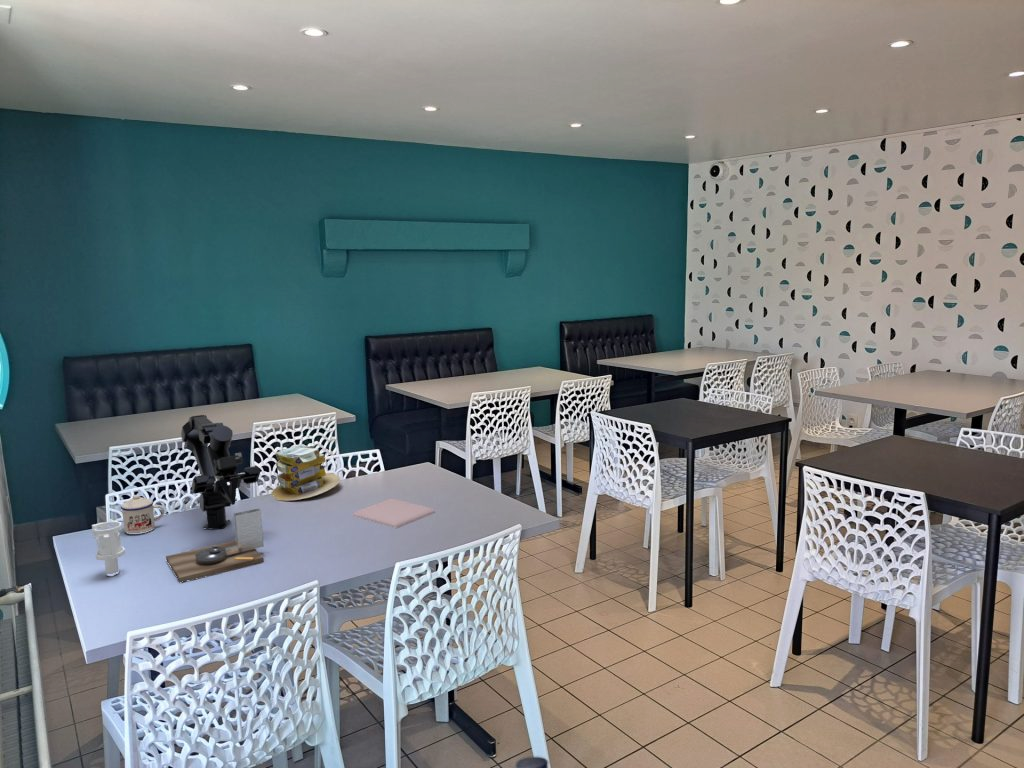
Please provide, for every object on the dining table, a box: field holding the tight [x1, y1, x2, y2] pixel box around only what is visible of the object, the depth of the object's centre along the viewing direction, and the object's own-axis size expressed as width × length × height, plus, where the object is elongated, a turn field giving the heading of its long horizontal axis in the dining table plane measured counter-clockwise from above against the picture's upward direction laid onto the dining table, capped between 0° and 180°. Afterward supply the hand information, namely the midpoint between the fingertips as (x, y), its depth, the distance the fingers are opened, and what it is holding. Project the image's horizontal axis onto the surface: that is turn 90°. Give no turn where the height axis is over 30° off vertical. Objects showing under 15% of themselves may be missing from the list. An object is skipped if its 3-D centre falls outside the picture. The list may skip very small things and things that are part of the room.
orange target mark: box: [234, 557, 254, 560], centre depth 206 cm, size 5×1×1 cm, turn 87°
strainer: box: [91, 520, 126, 574], centre depth 200 cm, size 7×7×15 cm
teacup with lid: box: [120, 494, 165, 533], centre depth 233 cm, size 12×9×12 cm
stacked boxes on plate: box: [270, 444, 341, 502], centre depth 270 cm, size 25×25×17 cm
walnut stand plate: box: [165, 539, 265, 583], centre depth 208 cm, size 18×22×2 cm
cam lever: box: [195, 508, 264, 564], centre depth 207 cm, size 18×8×11 cm, turn 125°
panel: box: [352, 497, 436, 529], centre depth 240 cm, size 35×33×2 cm
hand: (233, 503), depth 216 cm, fingers closed
